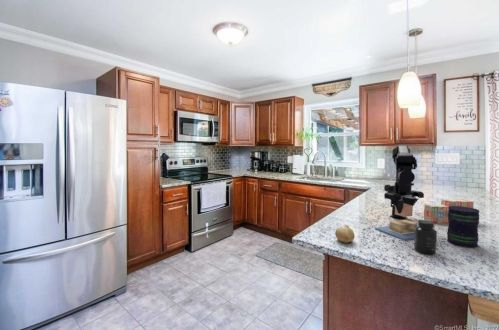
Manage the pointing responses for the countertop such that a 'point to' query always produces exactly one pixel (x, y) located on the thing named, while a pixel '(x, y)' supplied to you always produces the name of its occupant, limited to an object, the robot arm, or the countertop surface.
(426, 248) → the supplement bottle
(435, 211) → the stack of blocks
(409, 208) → the terracotta cube
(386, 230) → the board
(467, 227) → the storage jar
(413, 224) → the oak brick
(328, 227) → the countertop surface
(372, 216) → the countertop surface
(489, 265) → the countertop surface
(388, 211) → the countertop surface
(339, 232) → the onion
